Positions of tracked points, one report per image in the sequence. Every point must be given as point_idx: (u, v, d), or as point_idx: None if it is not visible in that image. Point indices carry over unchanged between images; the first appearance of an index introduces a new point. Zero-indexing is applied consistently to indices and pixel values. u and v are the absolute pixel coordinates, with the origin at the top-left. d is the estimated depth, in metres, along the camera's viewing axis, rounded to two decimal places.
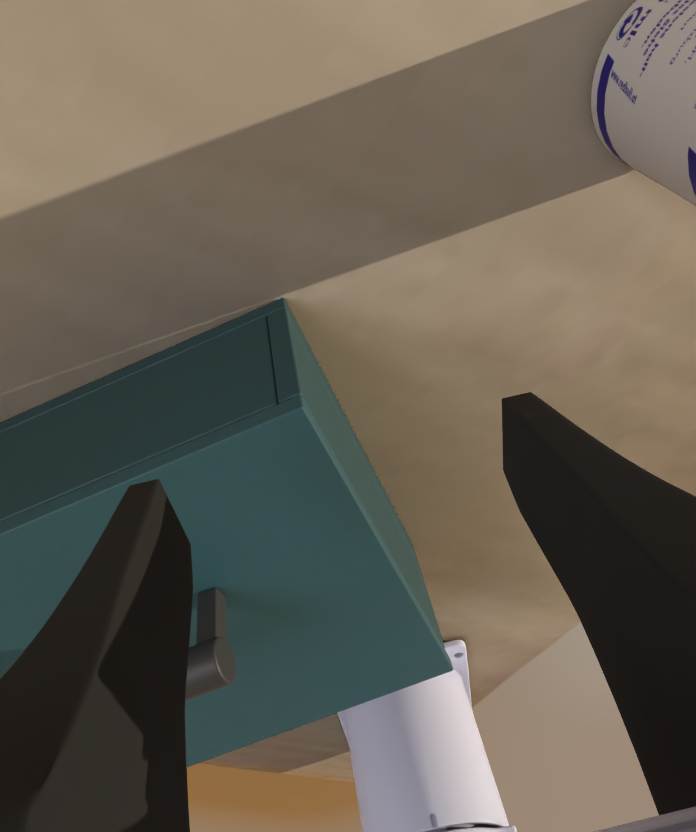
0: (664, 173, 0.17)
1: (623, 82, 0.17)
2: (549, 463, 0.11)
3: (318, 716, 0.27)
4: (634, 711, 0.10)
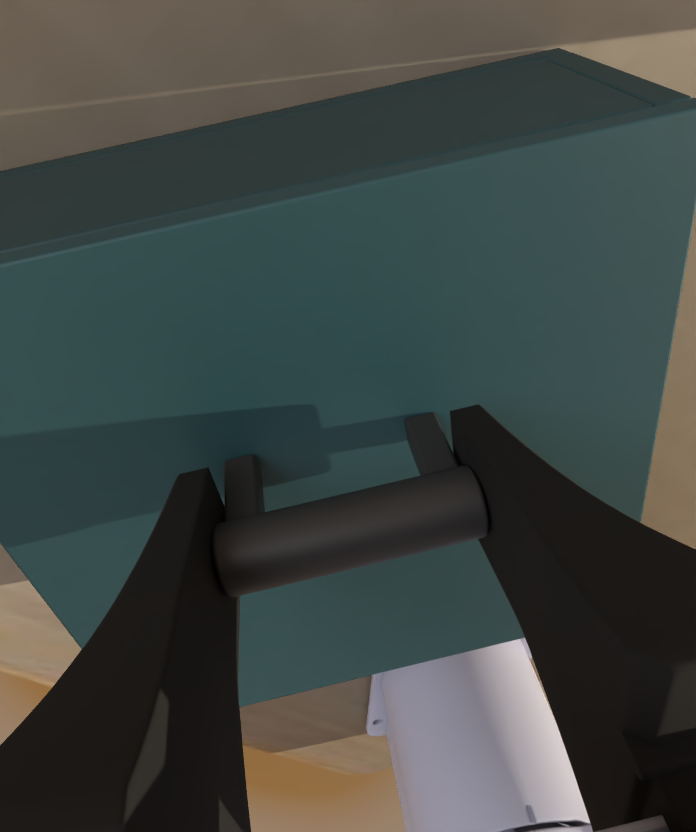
0: None
1: None
2: (489, 477, 0.11)
3: (442, 653, 0.20)
4: (568, 727, 0.10)
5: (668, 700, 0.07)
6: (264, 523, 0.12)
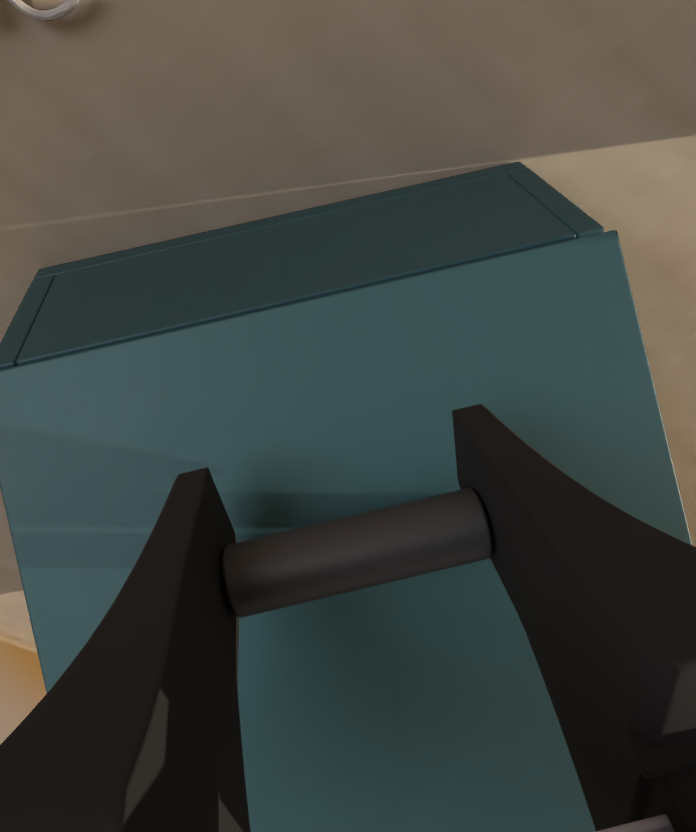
0: None
1: None
2: (492, 476, 0.11)
3: None
4: (571, 726, 0.10)
5: (672, 699, 0.07)
6: (273, 535, 0.13)
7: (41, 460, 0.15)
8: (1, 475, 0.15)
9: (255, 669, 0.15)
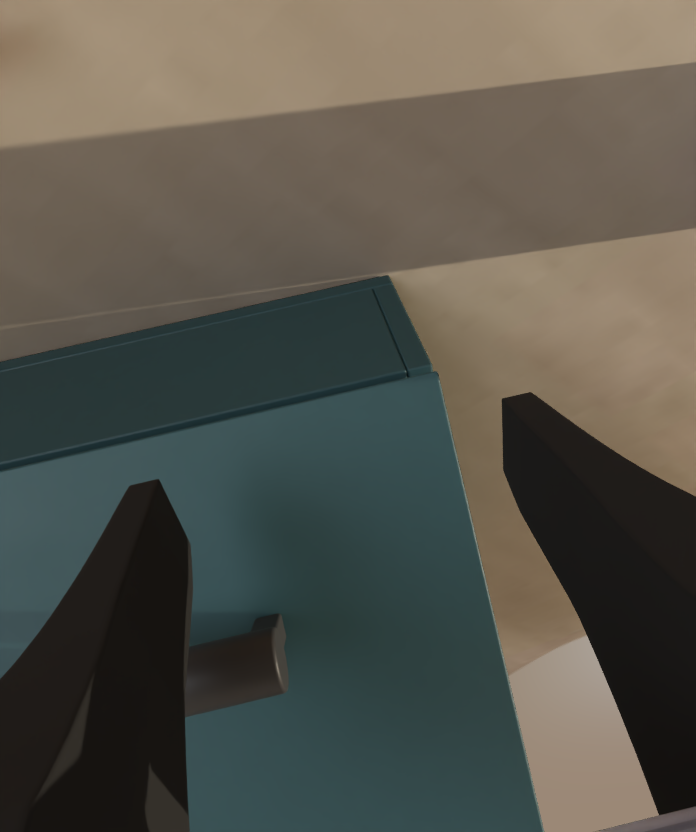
0: None
1: None
2: (549, 463, 0.11)
3: None
4: (634, 711, 0.10)
5: None
6: None
7: None
8: None
9: None
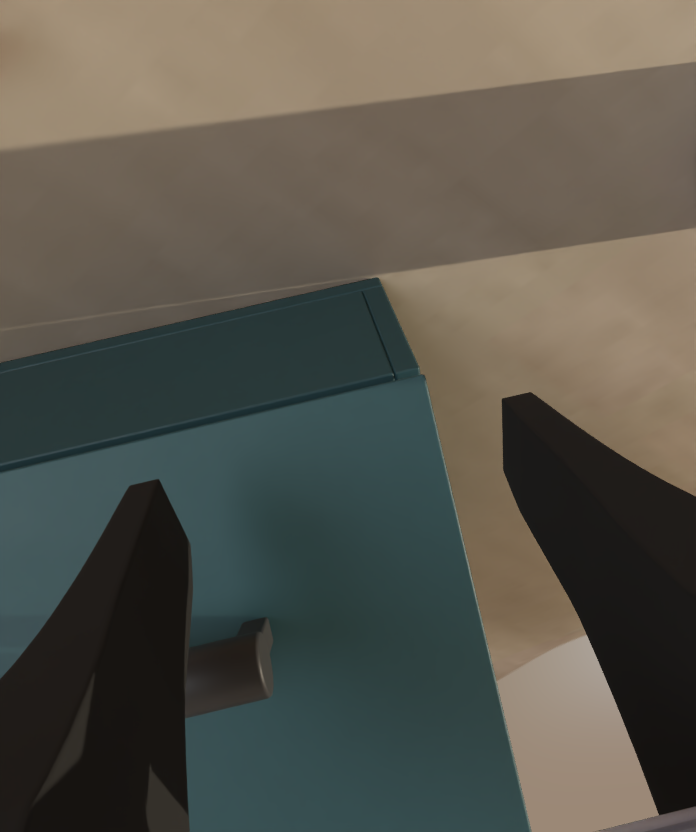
0: None
1: None
2: (549, 463, 0.11)
3: None
4: (634, 711, 0.10)
5: None
6: None
7: None
8: None
9: None
